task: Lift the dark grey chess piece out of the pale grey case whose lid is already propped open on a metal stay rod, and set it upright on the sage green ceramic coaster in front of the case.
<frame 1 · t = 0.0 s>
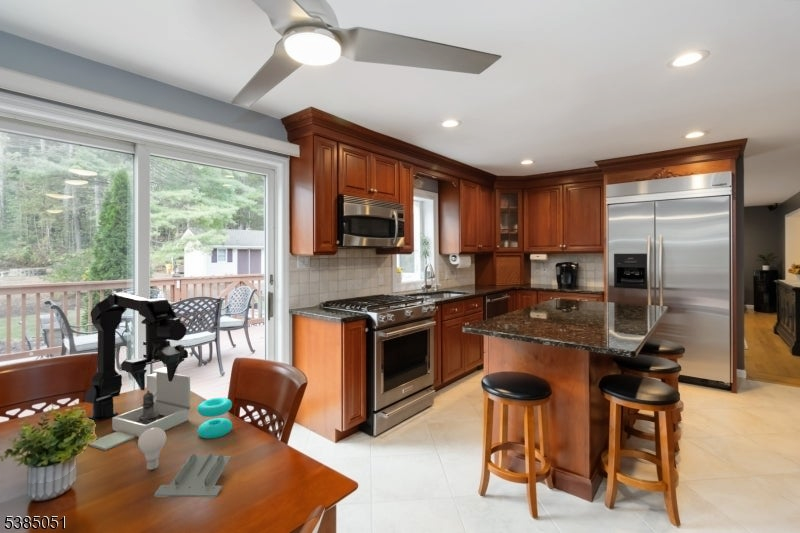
hand: (157, 385, 124), 15 cm above the table, tool pointing down, fingers open, 9 cm apart
case: (151, 424, 129), on the table
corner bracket: (164, 403, 148), on the table
coaster: (111, 441, 117), on the table
dark grey chess piece: (148, 426, 128), resting in case
metal bracket: (199, 483, 97), on the table
lightbulb: (152, 469, 102), on the table
donuts: (215, 433, 123), on the table
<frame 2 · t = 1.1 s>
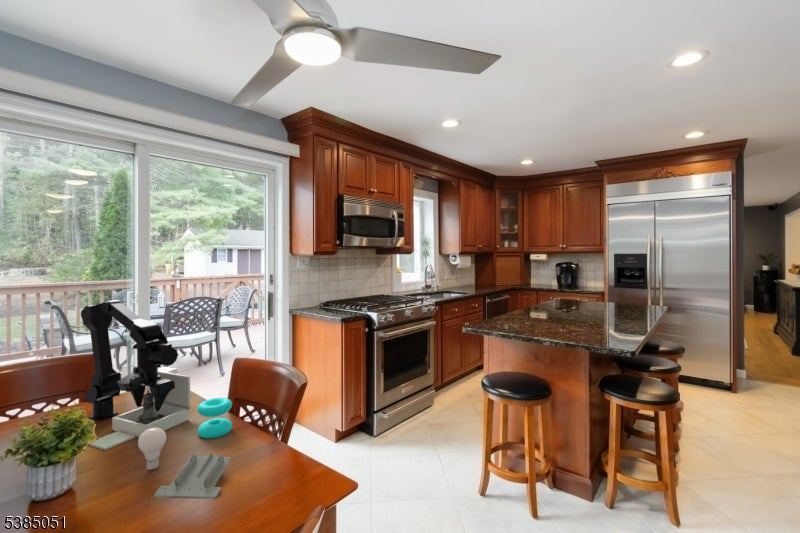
hand: (148, 408, 128), 6 cm above the table, tool pointing down, fingers open, 9 cm apart
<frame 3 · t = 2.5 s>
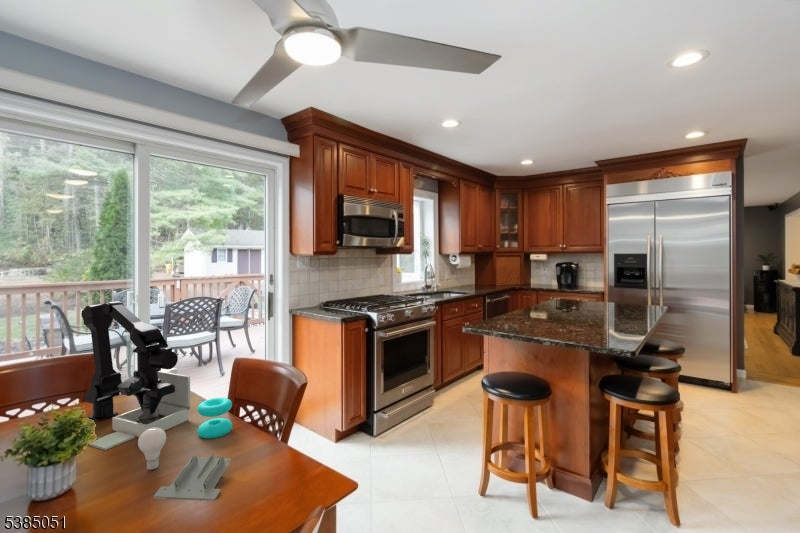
hand: (148, 412, 128), 5 cm above the table, tool pointing down, fingers closed on dark grey chess piece, 3 cm apart
dark grey chess piece: (148, 426, 128), resting in case, touching gripper
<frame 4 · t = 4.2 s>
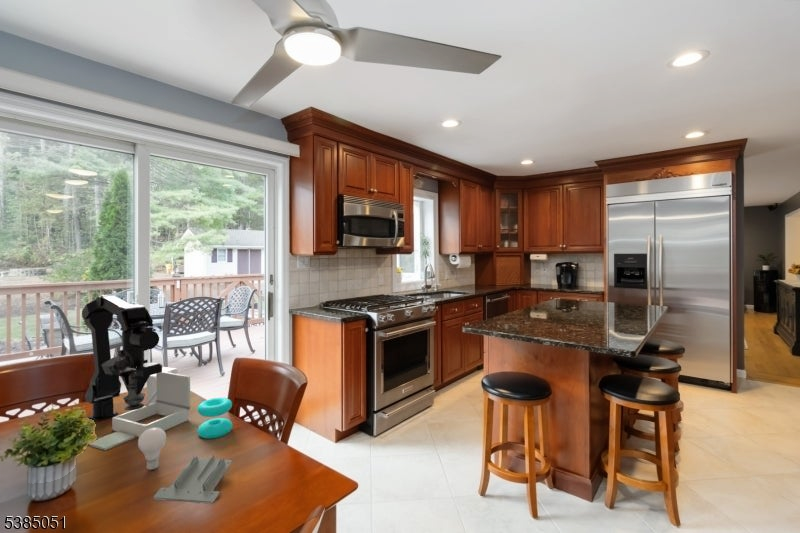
hand: (134, 393, 123), 13 cm above the table, tool pointing down, fingers closed on dark grey chess piece, 3 cm apart
dark grey chess piece: (134, 407, 124), point 8 cm above the table, touching gripper
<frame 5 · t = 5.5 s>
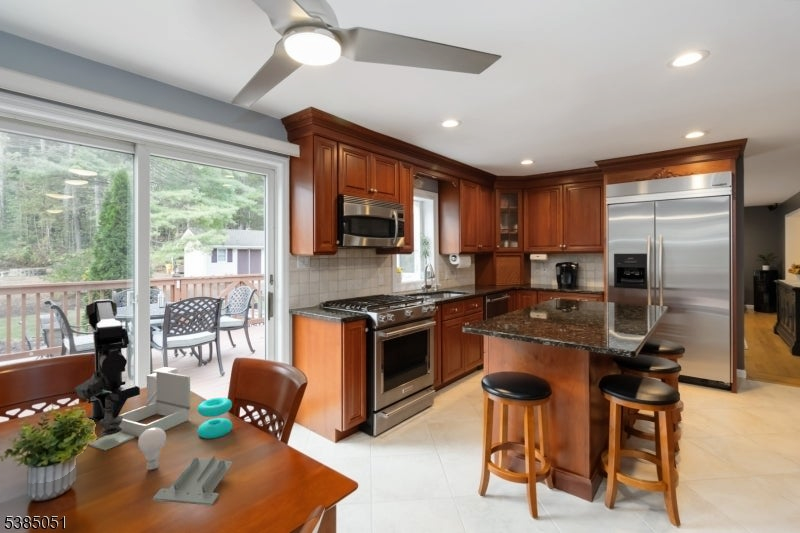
hand: (111, 416, 117), 8 cm above the table, tool pointing down, fingers closed on dark grey chess piece, 3 cm apart
dark grey chess piece: (111, 431, 117), point 3 cm above the table, touching gripper
when the fingers open (7 cm above the table, at t = 6.3 s): dark grey chess piece drops 1 cm, resting on coaster.
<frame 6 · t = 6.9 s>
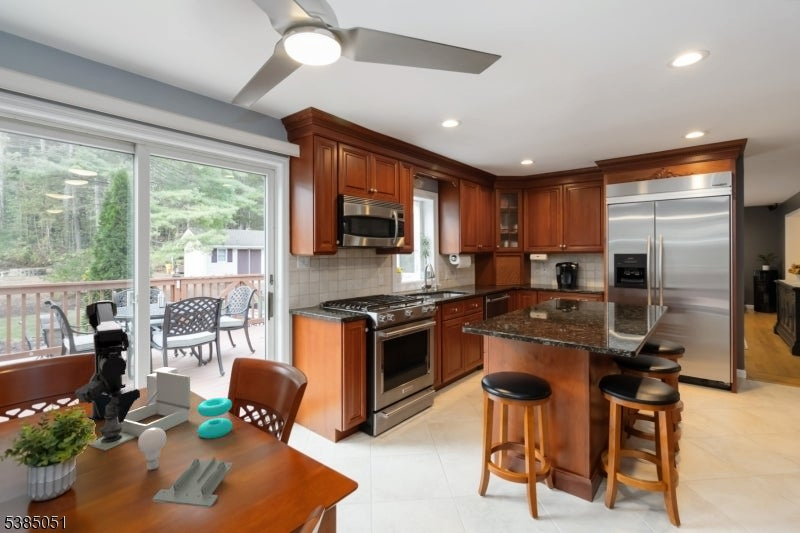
hand: (111, 419, 117), 7 cm above the table, tool pointing down, fingers open, 9 cm apart
dark grey chess piece: (111, 439, 118), resting on coaster
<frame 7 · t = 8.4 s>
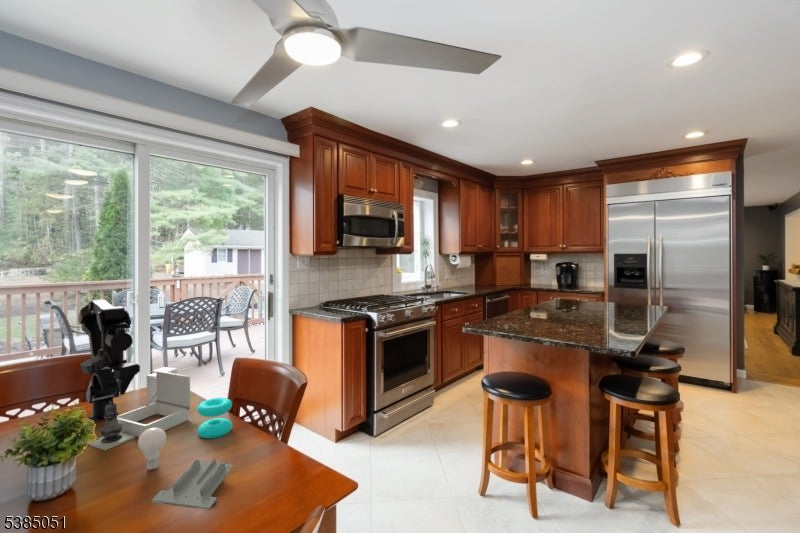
hand: (113, 392, 126), 12 cm above the table, tool pointing down, fingers open, 9 cm apart
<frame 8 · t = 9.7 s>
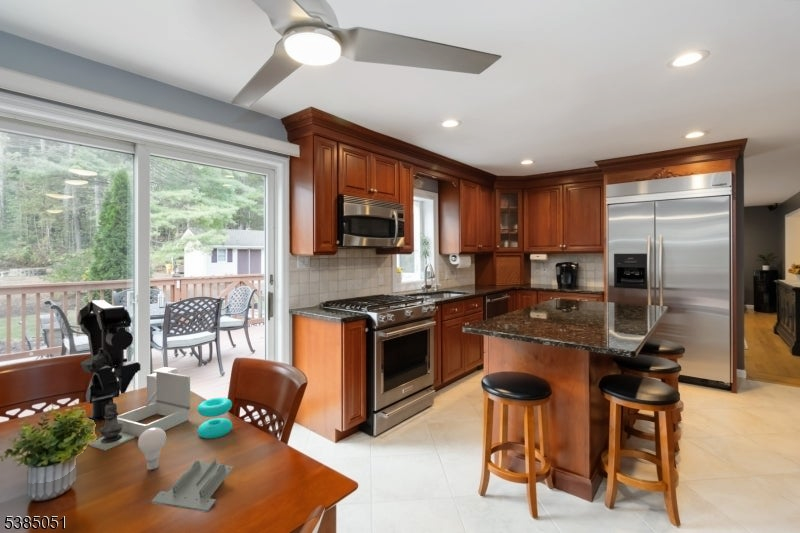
hand: (113, 391, 127), 12 cm above the table, tool pointing down, fingers open, 9 cm apart
at the end: dark grey chess piece 0.1 cm off-centre on the coaster, point 0.4 cm above the coaster's base; dark grey chess piece tilted 0°; the gripper is holding nothing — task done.
